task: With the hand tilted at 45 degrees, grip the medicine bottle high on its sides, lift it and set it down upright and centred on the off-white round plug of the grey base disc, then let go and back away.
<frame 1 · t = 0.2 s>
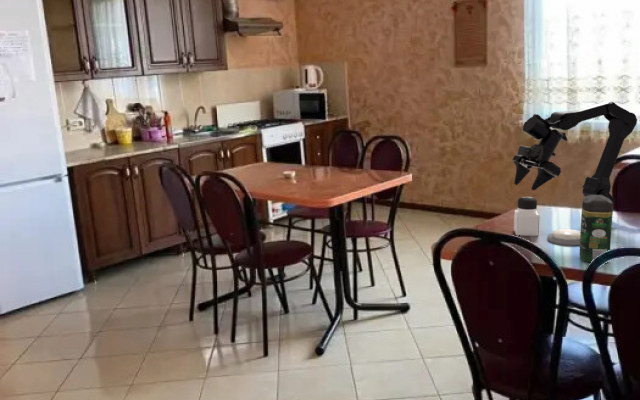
hand: (523, 187, 209), 15 cm above the table, tool tilted 30°, fingers open, 9 cm apart
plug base: (567, 240, 199), on the table
medicine bottle: (525, 233, 208), on the table
coffee jar: (593, 260, 179), on the table
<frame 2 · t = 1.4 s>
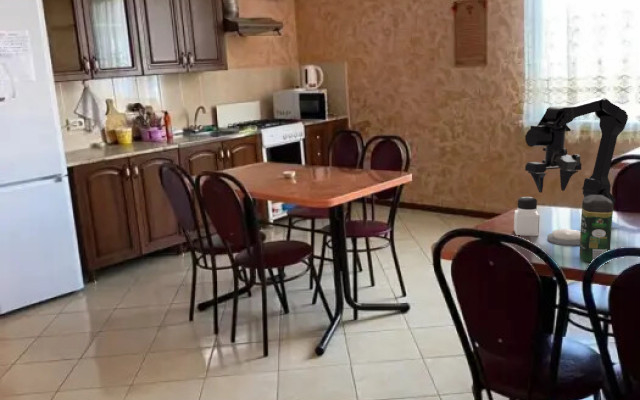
hand: (551, 191, 210), 13 cm above the table, tool pointing down, fingers open, 9 cm apart
nothing on the table moved.
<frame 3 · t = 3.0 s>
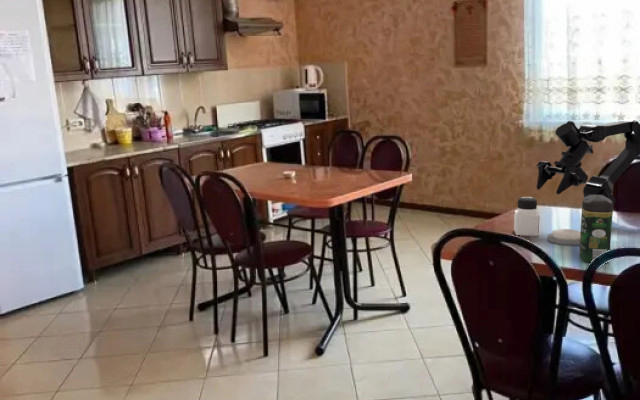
hand: (547, 191, 209), 13 cm above the table, tool tilted 45°, fingers open, 9 cm apart
nothing on the table moved.
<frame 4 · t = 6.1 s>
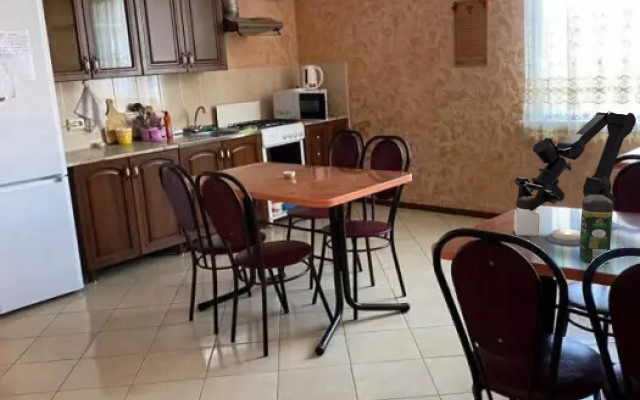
hand: (523, 208, 206), 9 cm above the table, tool tilted 45°, fingers closed on medicine bottle, 6 cm apart
medicine bottle: (525, 233, 208), on the table, touching gripper
everything else where it was.
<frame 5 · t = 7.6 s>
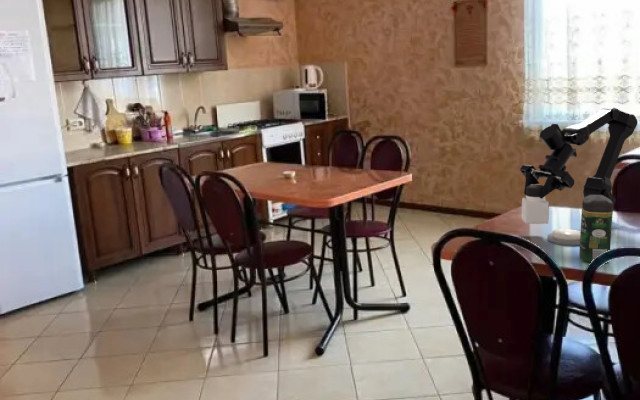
hand: (532, 196, 203), 13 cm above the table, tool tilted 45°, fingers closed on medicine bottle, 6 cm apart
medicine bottle: (534, 221, 205), point 4 cm above the table, touching gripper
everything else where it was.
when the fingers open (12 cm above the table, at t = 9.1 s): medicine bottle stays where it is, resting on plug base.
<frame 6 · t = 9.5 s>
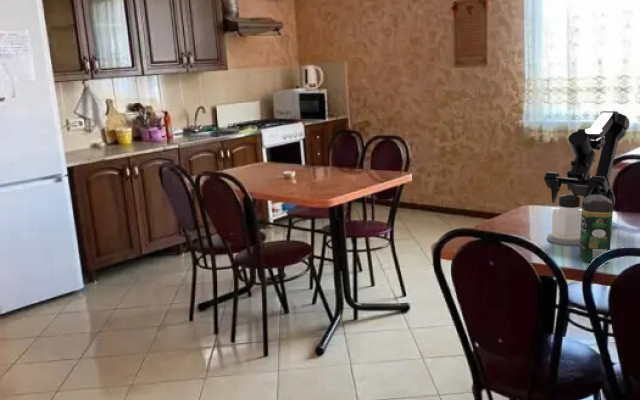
hand: (567, 204, 195), 12 cm above the table, tool tilted 45°, fingers open, 9 cm apart
medicine bottle: (567, 233, 198), point 2 cm above the table, touching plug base
everything else where it was.
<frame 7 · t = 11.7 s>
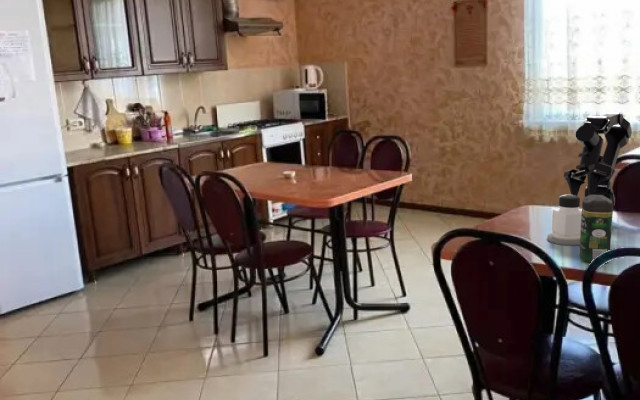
hand: (582, 197, 203), 12 cm above the table, tool tilted 25°, fingers open, 9 cm apart
nothing on the table moved.
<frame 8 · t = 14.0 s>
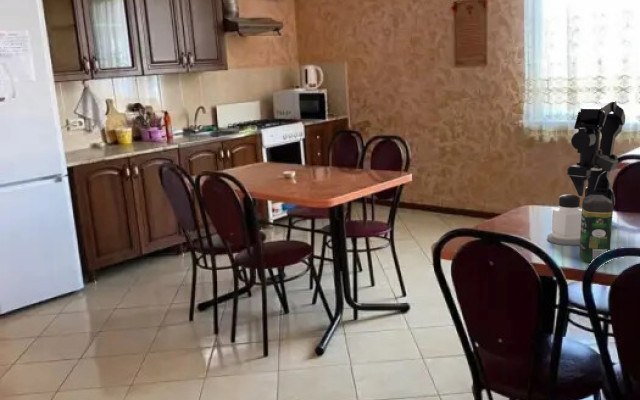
hand: (586, 193, 205), 13 cm above the table, tool pointing down, fingers open, 9 cm apart
nothing on the table moved.
at the end: medicine bottle 0.2 cm off-centre on the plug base, point 2.3 cm above the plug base's base; medicine bottle tilted 0°; the gripper is holding nothing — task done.
